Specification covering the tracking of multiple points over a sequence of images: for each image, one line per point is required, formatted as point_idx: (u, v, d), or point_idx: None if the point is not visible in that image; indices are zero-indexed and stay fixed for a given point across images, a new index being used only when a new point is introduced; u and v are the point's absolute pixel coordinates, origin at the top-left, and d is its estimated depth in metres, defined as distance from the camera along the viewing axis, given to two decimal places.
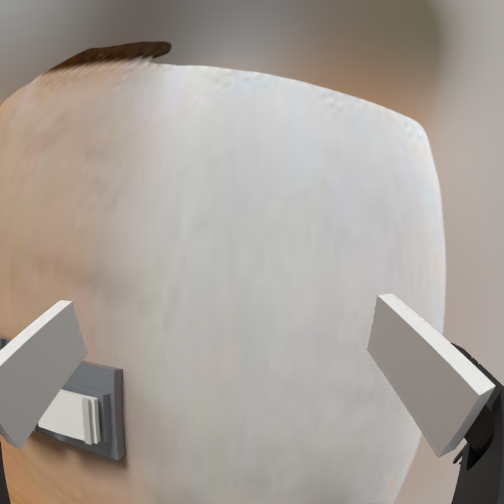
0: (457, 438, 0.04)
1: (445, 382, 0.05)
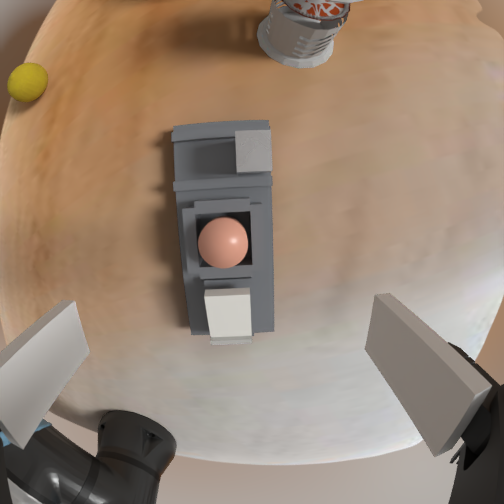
0: (454, 437, 0.04)
1: (441, 381, 0.05)
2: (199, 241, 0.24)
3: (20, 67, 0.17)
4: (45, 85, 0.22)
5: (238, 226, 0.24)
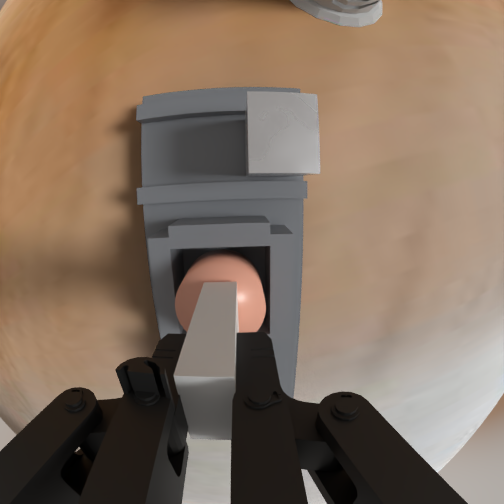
0: (224, 424, 0.06)
1: None
2: (177, 302, 0.13)
3: None
4: None
5: (249, 278, 0.13)
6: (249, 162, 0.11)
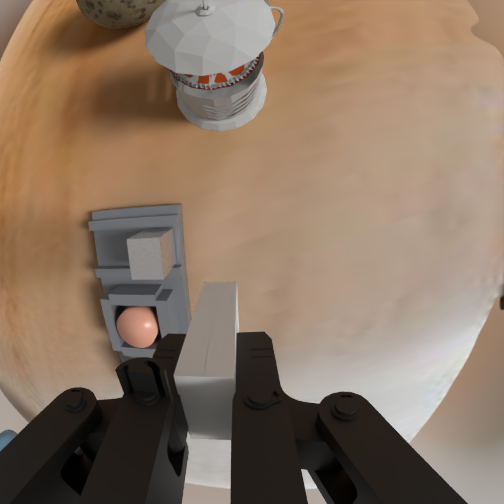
0: (223, 424, 0.06)
1: None
2: (117, 326, 0.25)
3: None
4: None
5: (145, 317, 0.25)
6: (131, 274, 0.22)
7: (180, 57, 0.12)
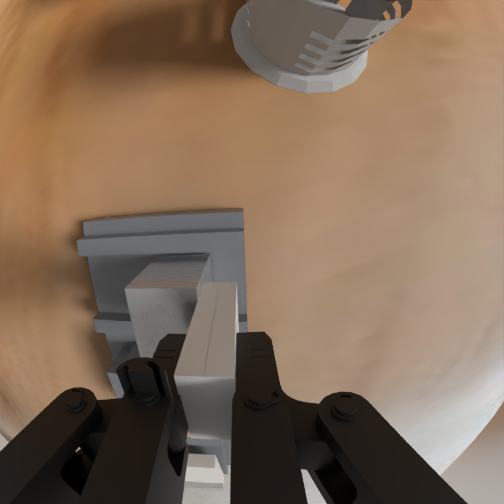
0: (223, 424, 0.06)
1: None
2: None
3: None
4: None
5: None
6: (140, 353, 0.11)
7: None
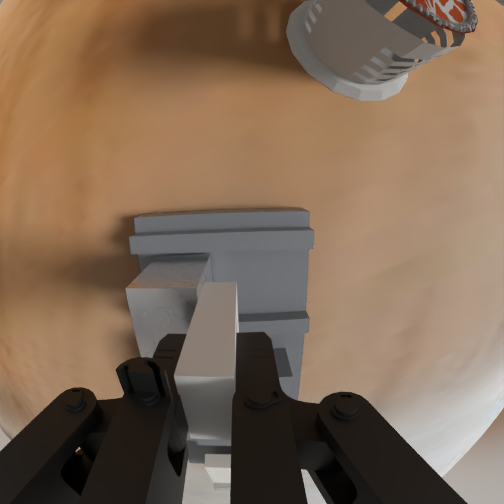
0: (223, 424, 0.06)
1: None
2: None
3: None
4: None
5: None
6: (140, 352, 0.11)
7: None
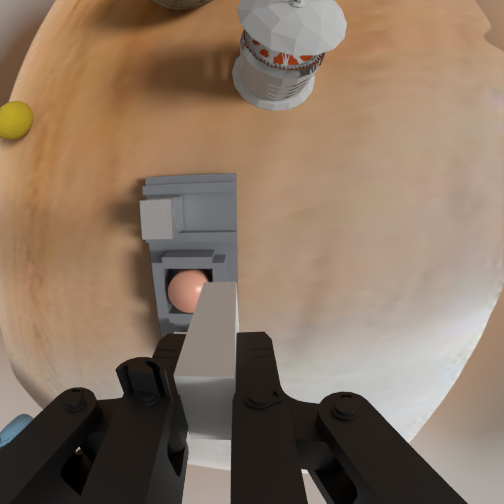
0: (224, 424, 0.06)
1: None
2: (169, 290, 0.27)
3: (4, 108, 0.19)
4: (30, 123, 0.24)
5: (201, 280, 0.27)
6: (142, 234, 0.24)
7: (276, 37, 0.14)
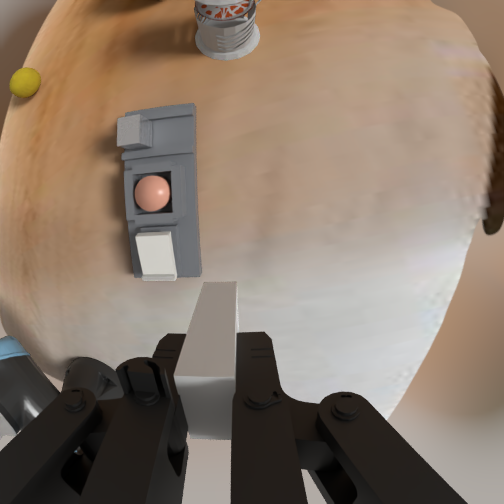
0: (224, 424, 0.06)
1: None
2: (135, 191, 0.31)
3: (19, 71, 0.23)
4: (38, 84, 0.28)
5: (161, 180, 0.31)
6: (117, 142, 0.28)
7: None
